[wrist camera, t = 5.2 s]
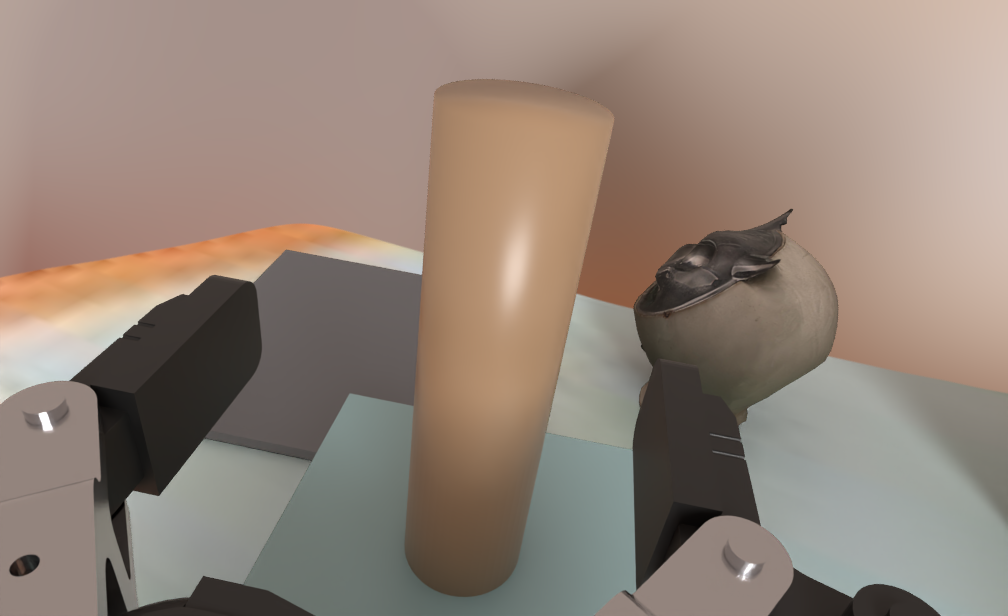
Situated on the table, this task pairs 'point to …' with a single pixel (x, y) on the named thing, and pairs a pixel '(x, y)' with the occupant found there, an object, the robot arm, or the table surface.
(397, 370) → the mat
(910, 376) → the table surface
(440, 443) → the peg on square base
